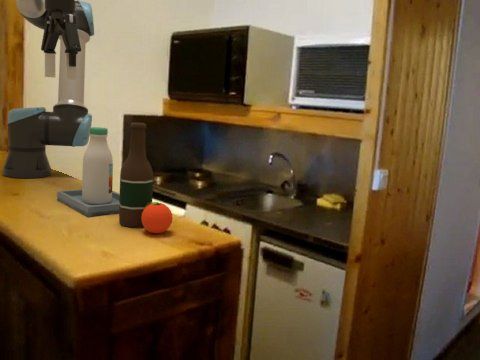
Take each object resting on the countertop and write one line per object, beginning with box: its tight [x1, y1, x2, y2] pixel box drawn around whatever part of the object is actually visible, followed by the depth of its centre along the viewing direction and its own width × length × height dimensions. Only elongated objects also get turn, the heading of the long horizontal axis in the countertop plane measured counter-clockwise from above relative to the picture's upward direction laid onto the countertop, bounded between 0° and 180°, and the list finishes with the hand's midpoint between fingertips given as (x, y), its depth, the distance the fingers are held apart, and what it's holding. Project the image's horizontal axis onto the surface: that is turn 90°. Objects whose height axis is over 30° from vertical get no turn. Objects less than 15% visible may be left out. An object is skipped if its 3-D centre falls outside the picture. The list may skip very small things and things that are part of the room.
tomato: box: [141, 201, 173, 234], centre depth 101 cm, size 8×7×7 cm
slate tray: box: [56, 189, 120, 218], centre depth 122 cm, size 20×14×2 cm
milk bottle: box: [81, 126, 114, 204], centre depth 120 cm, size 8×8×20 cm
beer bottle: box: [118, 122, 154, 229], centre depth 105 cm, size 8×8×24 cm
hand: (60, 78), depth 124 cm, fingers open, 13 cm apart
